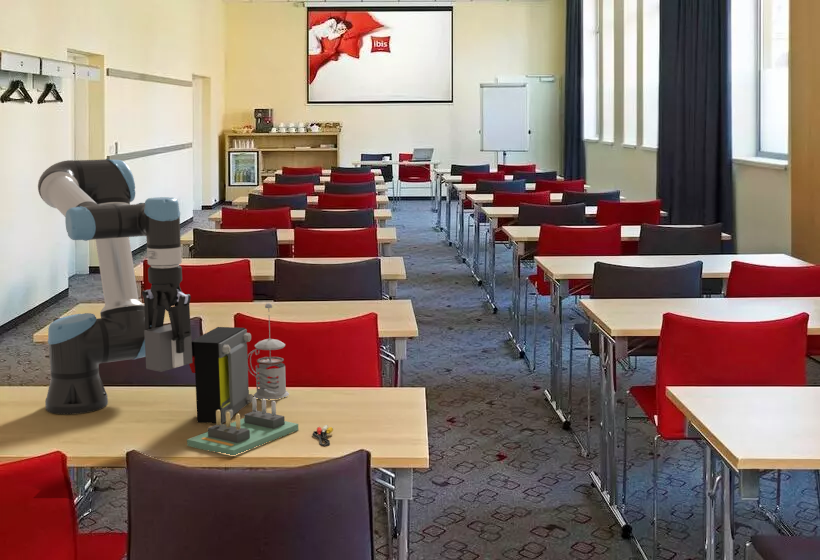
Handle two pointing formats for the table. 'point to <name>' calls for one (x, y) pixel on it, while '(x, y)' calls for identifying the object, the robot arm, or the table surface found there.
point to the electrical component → (221, 372)
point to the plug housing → (163, 348)
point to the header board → (247, 444)
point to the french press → (270, 370)
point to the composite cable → (323, 434)
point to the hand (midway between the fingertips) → (169, 364)
